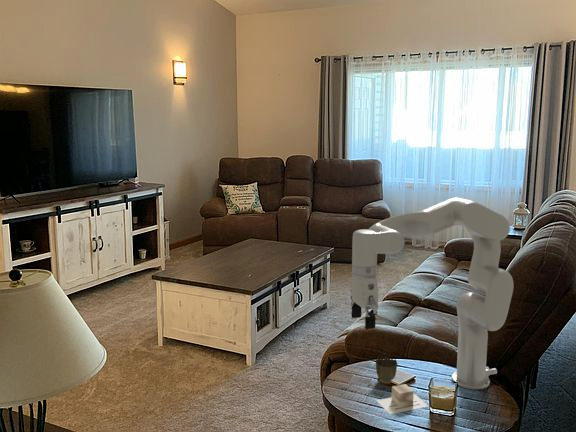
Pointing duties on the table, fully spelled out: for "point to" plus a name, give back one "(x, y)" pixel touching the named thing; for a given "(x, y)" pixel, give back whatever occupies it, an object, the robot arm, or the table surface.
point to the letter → (392, 408)
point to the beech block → (402, 396)
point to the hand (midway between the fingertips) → (363, 322)
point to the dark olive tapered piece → (386, 369)
